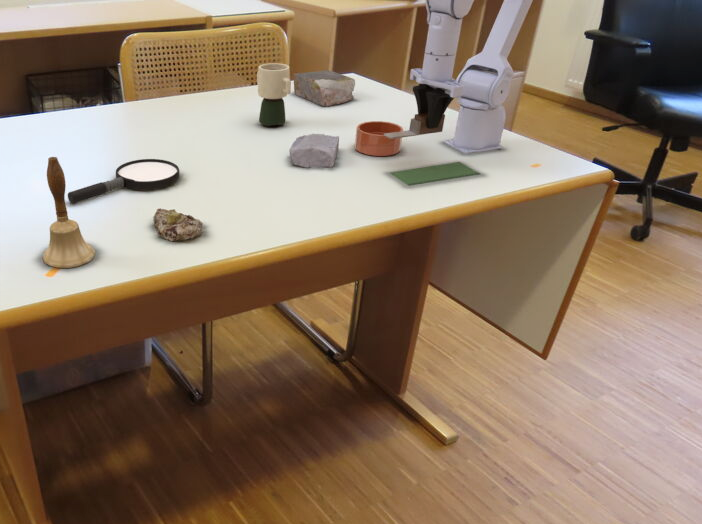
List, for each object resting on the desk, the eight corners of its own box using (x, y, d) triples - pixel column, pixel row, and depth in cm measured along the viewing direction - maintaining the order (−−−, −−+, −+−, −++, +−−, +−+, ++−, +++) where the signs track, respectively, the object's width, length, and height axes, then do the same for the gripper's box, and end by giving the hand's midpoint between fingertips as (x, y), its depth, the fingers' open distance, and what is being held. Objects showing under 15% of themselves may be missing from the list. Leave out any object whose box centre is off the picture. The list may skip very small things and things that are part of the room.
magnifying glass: (53, 194, 130) (51, 183, 128) (153, 163, 143) (153, 152, 141) (90, 214, 122) (88, 202, 121) (192, 179, 135) (191, 168, 134)
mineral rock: (217, 219, 114) (179, 220, 109) (212, 244, 116) (175, 246, 111) (178, 202, 121) (141, 202, 116) (175, 226, 123) (138, 227, 118)
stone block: (289, 174, 141) (337, 168, 139) (285, 151, 139) (334, 144, 136) (296, 157, 151) (341, 150, 148) (292, 135, 148) (339, 128, 146)
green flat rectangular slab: (458, 163, 141) (459, 161, 141) (480, 175, 136) (481, 173, 136) (389, 174, 137) (389, 172, 137) (408, 187, 131) (409, 185, 131)
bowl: (384, 140, 153) (387, 119, 150) (408, 154, 146) (411, 132, 143) (346, 146, 150) (348, 124, 147) (368, 160, 143) (371, 137, 140)
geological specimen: (326, 68, 186) (360, 77, 174) (324, 92, 189) (357, 102, 178) (292, 72, 181) (325, 81, 170) (291, 96, 185) (324, 107, 173)
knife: (435, 128, 139) (438, 111, 137) (442, 132, 137) (445, 114, 135) (383, 135, 136) (385, 117, 134) (390, 139, 134) (393, 121, 132)
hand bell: (32, 263, 107) (13, 164, 98) (60, 241, 114) (45, 146, 104) (78, 272, 105) (63, 171, 96) (104, 249, 111) (92, 152, 102)
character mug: (298, 126, 161) (302, 68, 154) (276, 133, 158) (279, 73, 150) (267, 116, 168) (269, 59, 160) (245, 122, 164) (246, 64, 157)
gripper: (401, 46, 133) (391, 117, 141) (445, 63, 122) (432, 139, 130) (432, 43, 135) (420, 113, 143) (478, 59, 124) (463, 134, 132)
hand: (428, 125), depth 137 cm, fingers closed on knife, 2 cm apart
